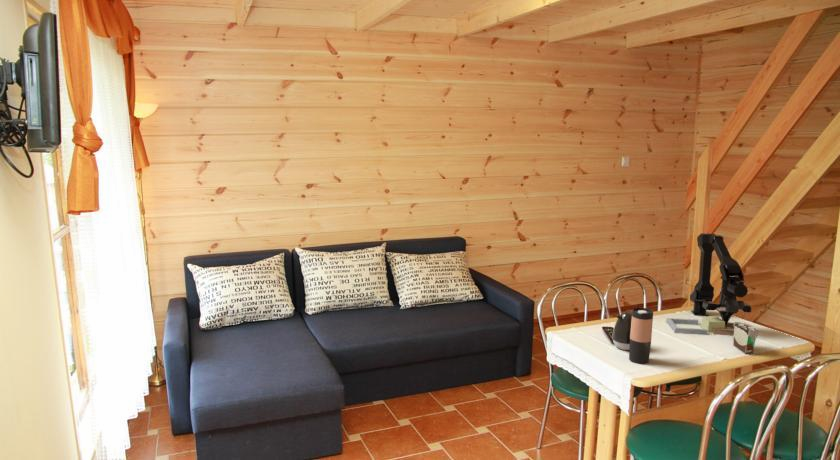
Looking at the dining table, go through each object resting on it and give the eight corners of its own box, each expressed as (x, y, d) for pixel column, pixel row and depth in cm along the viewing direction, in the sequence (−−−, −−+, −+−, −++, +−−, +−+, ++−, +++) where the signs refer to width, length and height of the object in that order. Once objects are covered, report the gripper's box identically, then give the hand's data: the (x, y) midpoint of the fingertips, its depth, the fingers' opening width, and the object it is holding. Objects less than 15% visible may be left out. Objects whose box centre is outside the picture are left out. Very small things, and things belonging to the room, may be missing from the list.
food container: (762, 356, 233) (765, 331, 231) (746, 355, 233) (749, 331, 231) (746, 344, 245) (748, 321, 243) (731, 344, 245) (733, 321, 243)
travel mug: (644, 356, 230) (648, 307, 227) (652, 364, 223) (657, 313, 219) (625, 356, 230) (629, 307, 227) (632, 364, 222) (636, 313, 219)
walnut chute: (704, 325, 269) (705, 321, 269) (742, 327, 267) (742, 323, 266) (713, 334, 257) (713, 329, 257) (752, 336, 255) (753, 332, 255)
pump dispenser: (605, 345, 242) (608, 309, 240) (626, 342, 246) (629, 307, 243) (622, 353, 233) (625, 317, 230) (643, 350, 236) (646, 314, 234)
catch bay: (666, 321, 273) (666, 317, 273) (696, 323, 271) (697, 319, 271) (674, 332, 258) (675, 328, 258) (707, 334, 256) (707, 330, 256)
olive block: (700, 327, 266) (702, 316, 265) (716, 327, 266) (717, 317, 265) (707, 332, 259) (709, 321, 259) (724, 332, 259) (725, 322, 258)
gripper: (712, 295, 253) (708, 329, 255) (758, 297, 250) (754, 332, 253) (703, 288, 264) (700, 321, 266) (748, 290, 261) (744, 324, 264)
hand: (724, 325), depth 262 cm, fingers closed
